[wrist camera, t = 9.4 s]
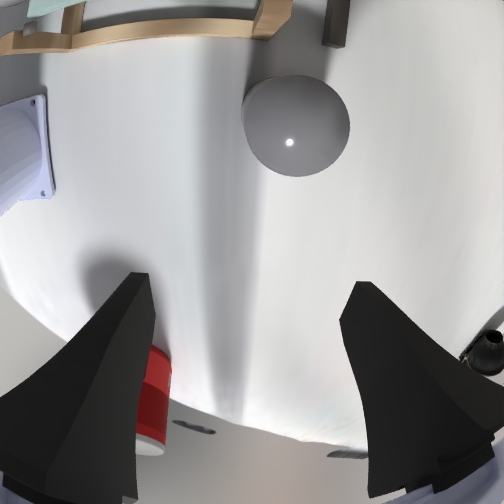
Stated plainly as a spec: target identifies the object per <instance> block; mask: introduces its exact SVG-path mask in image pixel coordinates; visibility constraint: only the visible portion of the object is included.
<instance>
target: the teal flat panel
mask: <svg viewBox="0 0 504 504" xmlns="http://www.w3.org/2000/svg"><path fill="white" fill-rule="evenodd" d="M24 1H26V0H0V7H10V6H14V5H17V4H20V3H22V2H24ZM84 1H87V0H30V3H29V8H28V13H27V17H30V18H38V17H40V16H43V15H45V14H48V13H50V12H53V11H56V10H59V9H62V8H64V7H67V6H70V5H74V4H77V3H80V2H84Z"/></svg>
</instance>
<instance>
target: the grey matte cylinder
mask: <svg viewBox="0 0 504 504" xmlns="http://www.w3.org/2000/svg"><path fill="white" fill-rule="evenodd" d="M241 116H242V122H243V126H244V130H245V134H246V138H247V141H248V144H249V146H250V149H251V150H252V152H253V154H254V155H255V156H256V158H257V159H258V160H259V161H260V162H261V163H262V164H263V165H265V166H266V167H267V168H269V169H271V170H272V171H274V172H277V173H279V174H282V175H286V176H294V177H301V176H308V175H312V174H316V173H318V172H320V171H322V170H324V169H326V168H327V167H329V166H330V165H331V164H333V163H334V162H335V161H336V160H337V159H338V157H339V156H340V155H341V153H342V152H343V150H344V148H345V146H346V144H347V141H348V137H349V131H350V121H349V115H348V111H347V109H346V106H345V104H344V102H343V100H342V99H341V97H340V96H339V95H338V94H337V93H336V92H335V91H334V90H333V89H332V88H331V87H330V86H328V85H327V84H325V83H324V82H322V81H320V80H317V79H315V78H311V77H308V76H279V77H271V78H268V79H265V80H262V81H260V82H259V83H257V84H256V85H255V86H253V87H252V88H251V89H250V91H249V92H248V93H247V95H246V97H245V99H244V101H243V104H242V109H241Z"/></svg>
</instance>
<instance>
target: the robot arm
mask: <svg viewBox="0 0 504 504" xmlns="http://www.w3.org/2000/svg"><path fill="white" fill-rule="evenodd" d="M34 100H35V105H34V104H33V101H34ZM43 191H44V192H45V194H46V195H45V194H44V193H43ZM54 195H55V190H54V184H53V178H52V171H51V164H50V157H49V148H48V137H47V124H46V99H45V96H44V95H43V94H39V95H35V96H32V97H28V98H25V99H22V100H18V101H15V102H12V103H9V104H6V105H3V106H1V107H0V217H1V216H2V215H3V214H4V213H5V212H6V211H7V210H9V209H10V208H11V207H12V206H13V205H14V204H15V203H17V202H18V201H22V200H44V199H51V198H52V197H53V196H54ZM155 317H156V315H155V309H154V304H153V298H152V293H151V287H150V281H149V274H148V273H135V272H131V273H130V274H129V275H128V276H127V277H126V278H125V280H124V281H123V282H122V283H121V284H120V285H119V287H118V288H117V289H116V290H115V291H114V292H113V294H112V295H111V296H110V297H109V298H108V299H107V301H106V302H105V303H104V304H103V305H102V306H101V307H100V309H99V310H98V311H97V312H96V313H95V314H94V316H93V317H92V318H91V319H90V320H89V321H88V322H87V323H86V324H85V325H84V326H83V327H82V329H81V330H80V331H79V332H78V333H77V334H76V335H75V336H74V337H73V338H72V339H71V340H70V341H69V342H68V343H67V344H66V345H65V346H64V347H63V348H62V349H61V350H60V351H59V352H58V353H57V354H56V355H55V356H53V357H52V358H51V359H50V360H49V361H48V362H47V363H46V364H44V365H43V366H42V367H41V368H39V369H38V370H37V371H36V372H35V373H33V374H32V375H31V376H30V377H29V378H27V379H26V380H25V381H23V382H22V383H20V384H19V385H18V386H16V387H15V388H13V389H12V390H11V391H9V392H8V393H6V394H5V395H3V396H2V397H0V504H122V503H124V504H133V503H135V502H136V501H137V500H138V493H137V480H136V426H137V413H138V403H139V397H140V392H141V387H142V383H143V378H144V374H145V369H146V365H147V361H148V357H149V353H150V348H151V344H152V339H153V332H154V324H155ZM339 321H340V327H341V332H342V337H343V342H344V346H345V349H346V352H347V355H348V358H349V361H350V364H351V367H352V370H353V373H354V376H355V380H356V383H357V386H358V389H359V392H360V396H361V400H362V405H363V410H364V417H365V423H366V431H367V441H368V458H369V469H368V470H369V472H368V495H369V498H374V497H377V496H381V495H385V494H388V493H391V492H395V491H397V490H400V489H403V488H405V489H406V493H407V494H405V495H403V496H401V497H398V498H396V499H393V500H391V501H388V502H386V503H383V504H500V503H501V502H502V501H503V500H504V438H502V439H501V440H499V441H498V442H497V443H495V444H494V445H491V442H492V441H494V439H495V436H494V433H495V432H497V431H498V430H499V429H501V428H502V427H503V426H504V386H501V385H499V384H497V383H495V382H493V381H491V380H489V379H488V378H486V377H484V376H482V375H481V374H479V373H477V372H476V371H474V370H472V369H471V368H469V367H468V366H466V365H465V364H464V363H462V362H461V361H459V360H458V359H456V358H455V357H454V356H452V355H451V354H450V353H449V352H447V351H446V350H445V349H444V348H442V347H441V346H440V345H439V344H437V343H436V342H435V341H434V340H433V339H432V338H431V337H429V336H428V335H427V334H426V333H425V332H424V331H423V330H422V329H421V328H419V327H418V326H417V325H416V324H415V323H414V322H413V321H412V320H411V319H410V318H409V317H408V316H407V315H406V314H405V313H404V312H403V311H402V310H401V309H400V308H399V307H398V306H397V305H396V304H394V303H393V302H392V301H391V300H390V299H389V298H388V297H387V296H386V295H385V294H384V293H383V292H382V291H381V290H380V289H379V288H377V287H376V286H375V285H374V284H373V283H371V282H365V281H356V283H355V286H354V288H353V290H352V293H351V295H350V297H349V299H348V302H347V304H346V306H345V308H344V310H343V313H342V315H341V317H340V319H339Z"/></svg>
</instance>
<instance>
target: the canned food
mask: <svg viewBox="0 0 504 504" xmlns="http://www.w3.org/2000/svg"><path fill="white" fill-rule="evenodd" d="M171 374H172V369H171V364H170V361H169V359H168V357H167V356H166V355H165V354H164V353H163V352H162V351H160V350H159V349H157V348H156V347H154V346H152V345H151V348H150V353H149V357H148V361H147V365H146V369H145V374H144V378H143V383H142V387H141V392H140V397H139V403H138V413H137V426H136V454H140V455H150V456H154V455H160V454H163V453H164V449H165V440H166V429H167V416H168V404H169V393H170V383H171Z"/></svg>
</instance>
